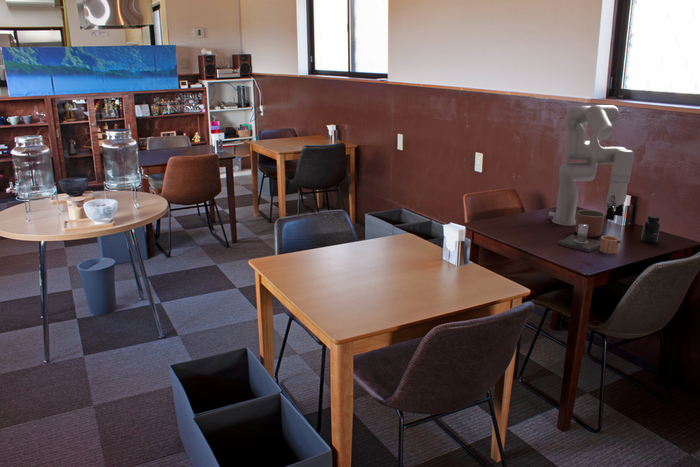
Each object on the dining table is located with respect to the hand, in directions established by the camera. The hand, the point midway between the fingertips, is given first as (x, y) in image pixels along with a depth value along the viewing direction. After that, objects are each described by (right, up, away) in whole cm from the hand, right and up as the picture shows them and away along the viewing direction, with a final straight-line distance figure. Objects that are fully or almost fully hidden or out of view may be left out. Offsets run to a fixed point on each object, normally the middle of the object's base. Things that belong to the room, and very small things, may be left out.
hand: (614, 217), depth 237 cm
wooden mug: (0, -15, +5) cm, 16 cm away
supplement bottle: (+26, -11, +20) cm, 34 cm away
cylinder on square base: (-9, -12, +13) cm, 20 cm away
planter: (0, -8, +27) cm, 28 cm away
